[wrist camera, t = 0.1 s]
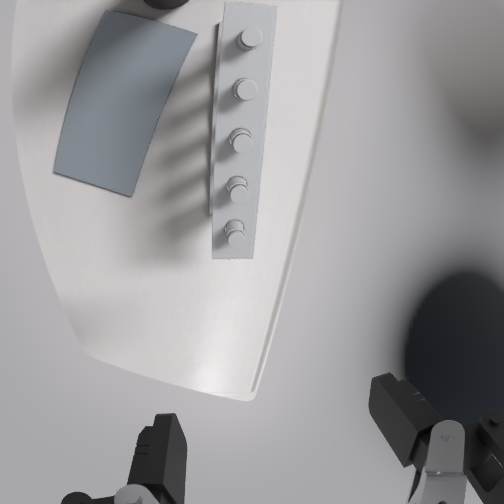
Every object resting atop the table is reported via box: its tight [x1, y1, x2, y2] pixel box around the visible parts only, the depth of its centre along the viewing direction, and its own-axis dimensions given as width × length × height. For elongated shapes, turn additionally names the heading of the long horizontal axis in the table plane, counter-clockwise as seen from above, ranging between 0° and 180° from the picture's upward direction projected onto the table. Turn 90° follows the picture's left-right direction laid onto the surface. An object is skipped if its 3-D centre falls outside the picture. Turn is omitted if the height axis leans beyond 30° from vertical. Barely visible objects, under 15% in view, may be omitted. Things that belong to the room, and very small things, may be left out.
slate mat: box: [54, 10, 198, 197], centre depth 29 cm, size 22×12×1 cm, turn 155°
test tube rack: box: [209, 2, 277, 259], centre depth 28 cm, size 25×4×13 cm, turn 176°
